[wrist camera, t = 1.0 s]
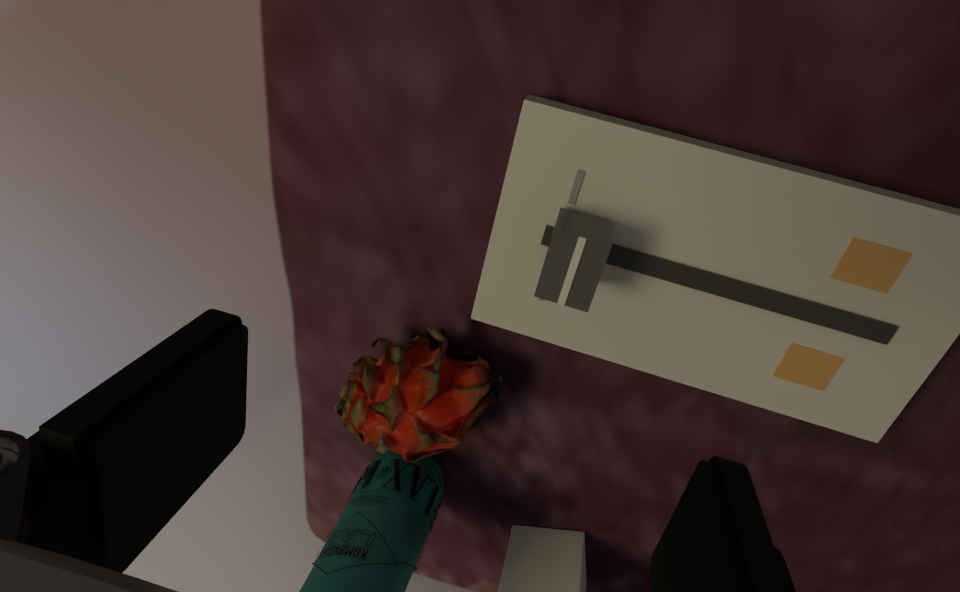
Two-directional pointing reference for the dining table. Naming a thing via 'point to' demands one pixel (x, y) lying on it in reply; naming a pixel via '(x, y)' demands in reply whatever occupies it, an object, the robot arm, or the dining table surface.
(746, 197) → the slider board
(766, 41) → the dining table surface
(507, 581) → the milk
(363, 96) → the dining table surface
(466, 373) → the dragon fruit
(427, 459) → the beverage bottle
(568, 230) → the fader
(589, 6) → the dining table surface
